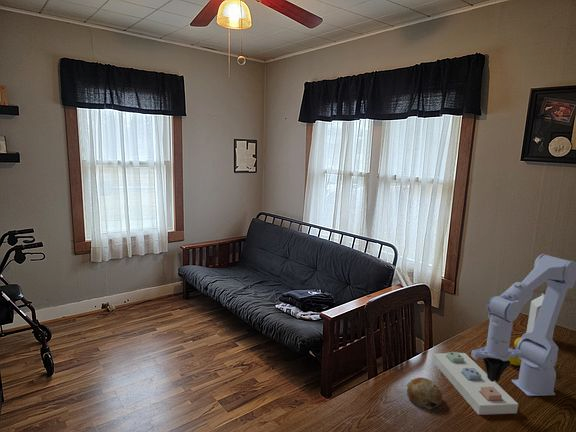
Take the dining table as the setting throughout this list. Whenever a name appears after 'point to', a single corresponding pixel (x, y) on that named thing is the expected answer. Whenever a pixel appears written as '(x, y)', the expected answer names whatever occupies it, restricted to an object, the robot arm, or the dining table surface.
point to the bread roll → (424, 393)
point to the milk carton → (534, 313)
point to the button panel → (474, 386)
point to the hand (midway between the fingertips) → (492, 379)
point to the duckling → (514, 359)
